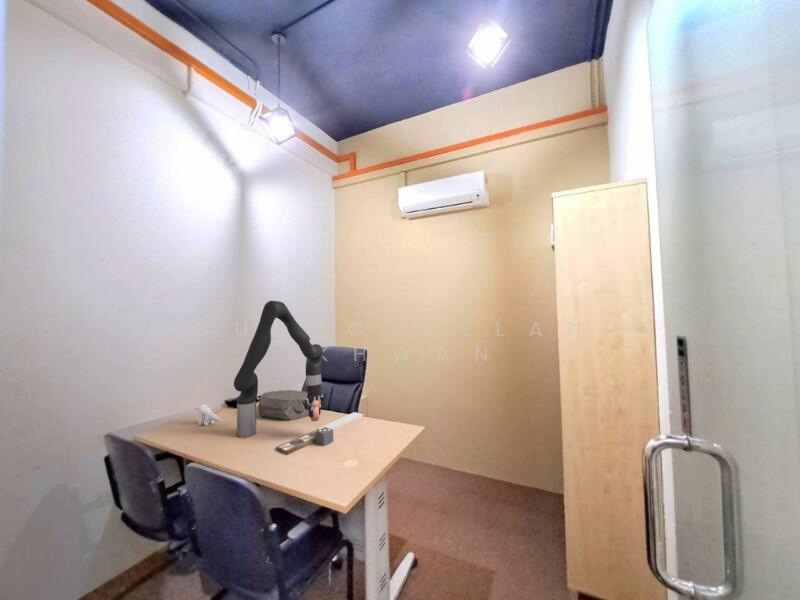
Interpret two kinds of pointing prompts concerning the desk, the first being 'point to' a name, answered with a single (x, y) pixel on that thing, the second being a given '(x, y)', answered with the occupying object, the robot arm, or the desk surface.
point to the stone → (283, 404)
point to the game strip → (297, 443)
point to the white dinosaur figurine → (206, 415)
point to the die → (324, 436)
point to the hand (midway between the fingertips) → (314, 415)
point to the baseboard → (342, 421)
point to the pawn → (315, 411)
